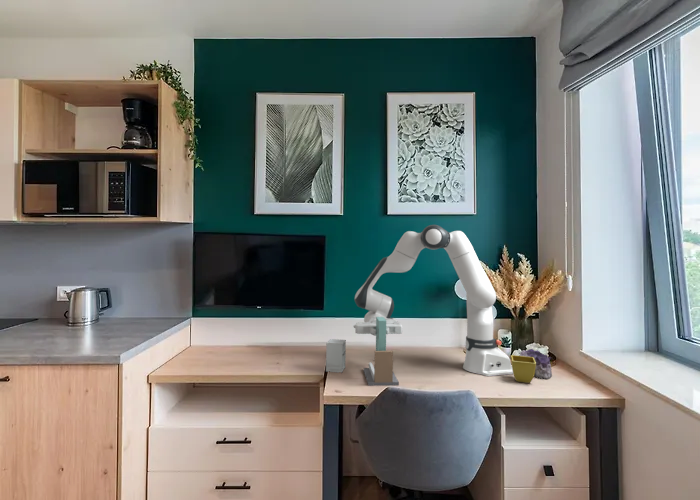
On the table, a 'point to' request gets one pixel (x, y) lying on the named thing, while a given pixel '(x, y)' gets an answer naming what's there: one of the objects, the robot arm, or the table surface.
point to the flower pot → (523, 368)
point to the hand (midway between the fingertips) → (380, 332)
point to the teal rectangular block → (381, 334)
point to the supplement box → (335, 355)
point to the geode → (539, 363)
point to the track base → (381, 370)
